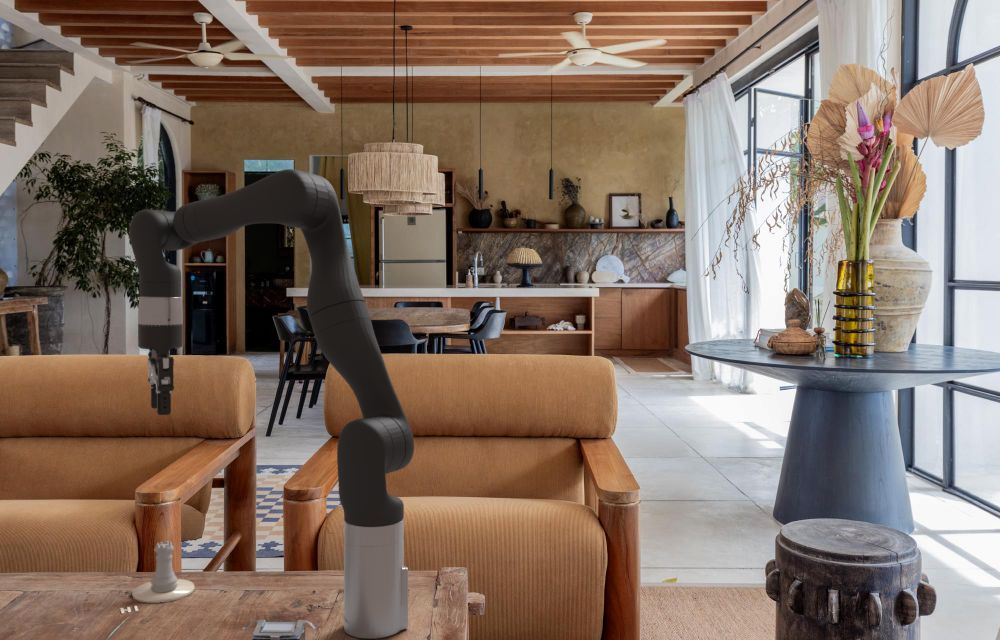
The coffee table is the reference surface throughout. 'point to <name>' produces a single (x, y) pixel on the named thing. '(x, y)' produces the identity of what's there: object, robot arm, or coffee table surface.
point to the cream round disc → (148, 596)
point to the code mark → (128, 609)
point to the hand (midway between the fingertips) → (160, 411)
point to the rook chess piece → (164, 569)
